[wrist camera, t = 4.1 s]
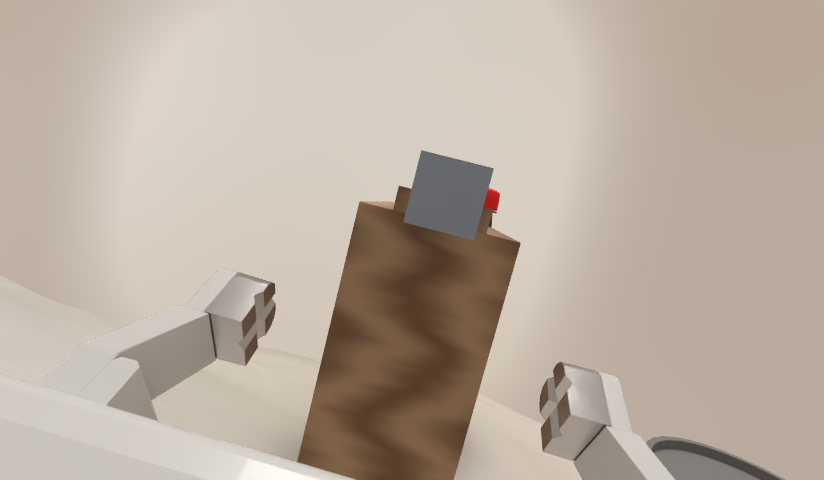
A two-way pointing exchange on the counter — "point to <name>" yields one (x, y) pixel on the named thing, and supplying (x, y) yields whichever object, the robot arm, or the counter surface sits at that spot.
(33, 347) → the counter surface
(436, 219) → the gray block
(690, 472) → the reusable coffee cup
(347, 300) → the walnut block
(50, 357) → the counter surface
